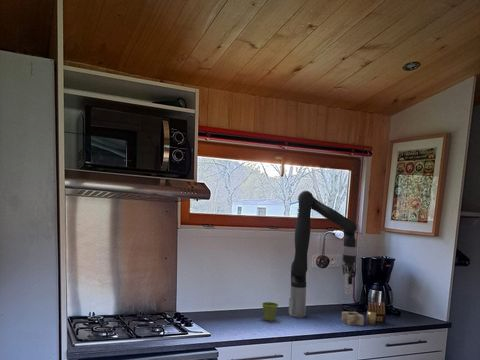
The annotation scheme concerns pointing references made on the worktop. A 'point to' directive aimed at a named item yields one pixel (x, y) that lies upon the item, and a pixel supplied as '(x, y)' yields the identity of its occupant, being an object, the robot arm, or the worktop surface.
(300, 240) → the robot arm
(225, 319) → the worktop surface
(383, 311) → the ammunition clip
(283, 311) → the worktop surface
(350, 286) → the square bit
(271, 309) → the plant pot
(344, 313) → the bit holder
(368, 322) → the round bit
